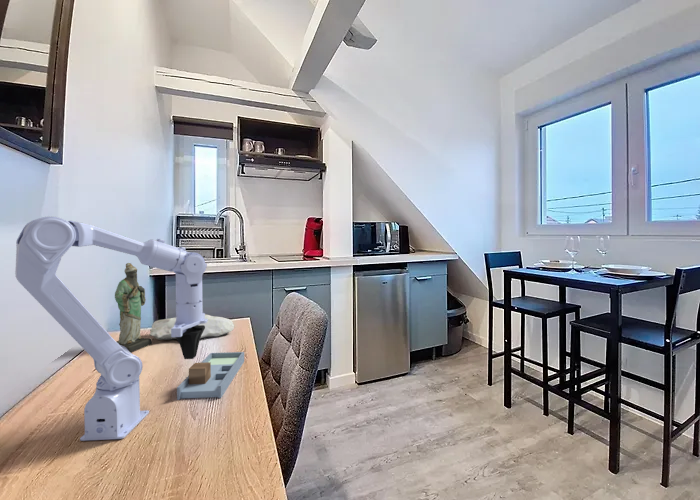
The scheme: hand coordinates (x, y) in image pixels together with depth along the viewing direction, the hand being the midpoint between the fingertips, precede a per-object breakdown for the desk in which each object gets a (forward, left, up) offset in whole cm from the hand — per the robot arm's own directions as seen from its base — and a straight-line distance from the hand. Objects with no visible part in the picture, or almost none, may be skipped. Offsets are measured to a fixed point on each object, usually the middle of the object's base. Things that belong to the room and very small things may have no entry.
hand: (190, 357), depth 77 cm
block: (+6, 0, -8) cm, 10 cm away
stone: (+53, +19, -10) cm, 57 cm away
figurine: (+39, +36, -10) cm, 54 cm away
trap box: (+11, -2, -10) cm, 15 cm away
